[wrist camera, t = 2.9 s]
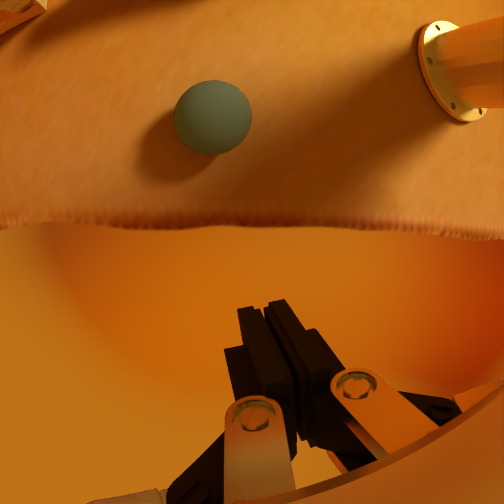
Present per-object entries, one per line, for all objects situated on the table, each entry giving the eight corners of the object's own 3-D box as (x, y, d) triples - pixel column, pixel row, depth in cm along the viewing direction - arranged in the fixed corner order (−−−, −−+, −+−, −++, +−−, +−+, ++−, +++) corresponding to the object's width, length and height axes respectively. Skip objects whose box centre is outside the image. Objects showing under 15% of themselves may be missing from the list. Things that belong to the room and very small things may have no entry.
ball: (240, 85, 22) (252, 67, 17) (249, 150, 24) (263, 148, 19) (172, 95, 21) (165, 78, 16) (181, 160, 23) (176, 161, 18)
